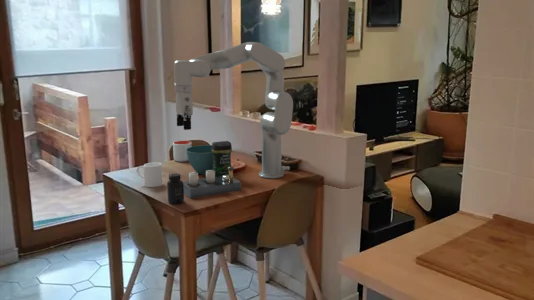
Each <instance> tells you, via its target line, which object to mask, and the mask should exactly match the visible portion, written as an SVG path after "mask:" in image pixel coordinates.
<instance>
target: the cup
mask: <svg viewBox="0 0 534 300" xmlns="http://www.w3.org/2000/svg"><path fill="white" fill-rule="evenodd" d="M189 147H192V141H189V140H177V141H173V142H172V149H173V150H172V154H173V160H174V161H175V162H179V163H183V162H184V163H185V162H189V160H188V157H187V151H186V149H187V148H189Z"/></svg>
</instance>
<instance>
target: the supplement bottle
mask: <svg viewBox="0 0 534 300" xmlns="http://www.w3.org/2000/svg"><path fill="white" fill-rule="evenodd" d="M181 179H182V177H181V173H176V172H175V173H169V175H168V181H167V182H166V189H167V193H166V194H167V203H168V204H170V205H180V204H183V203H184V201H185V194H184V187H183V182H184V181H183V180H181Z"/></svg>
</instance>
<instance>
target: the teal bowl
mask: <svg viewBox="0 0 534 300" xmlns="http://www.w3.org/2000/svg"><path fill="white" fill-rule="evenodd" d="M186 151H187V157H188V160H189V161H188V162H189V164H190V166H191V167H192V168H193V170H194V171H195V172H196V173H198V175H206V171H208V170H212V168H213V153H212V145H211V144H205V145H204V144H203V145H202V144H201V145H199V144H198V145H194V146H193V145H192V146H191V147H189V148H187V149H186Z"/></svg>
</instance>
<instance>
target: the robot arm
mask: <svg viewBox="0 0 534 300" xmlns="http://www.w3.org/2000/svg"><path fill="white" fill-rule="evenodd" d="M251 61H252V62H257V63H256V64H257V66H258V67H259V69H260V70H261V71H262V72H263V73H264V74H265V75H264V76H265V78H266V85H265V87H266V88H265V95H264V96H265V97H264V104H265V106H266V107H267V109H269V110H272V111H274V112H272V111H267V112H265V113H263V114H262V115H261V117H260V120H259V125H260V132H261V170H260V171H259V172H258V176H259V177H260V178H263V179H279V178H282V177H284V176H285V171H290V169H291V167H290V166H289V165H288V166H285V165H282V137H281V136H283V135H286V134H287V133H288V132H289V131H290V129H291V126H292V121H293V110H294V101H293V98H292V97H293V96H291V93H290V94H289V93H288V92H286V91H285V90H284V89H285V76H284V72H283V70H284V68H285V66H286V60H285V57H284V56H283V55H282V54H280V53H279V52H277V51H276V50H274V49H272V48H270V47H268V46H267V45H265V44H263V43H261V42H257V41H256V42H255V41H246V42H243V43H239V44H237V45H235V46H232V47H228V48H225V49H221V50H217V51H214V52H210V53H206V54H202V55H200V56H196V57H193V58H191V59H189V60H185V59H184V60H183V59H179V60H175V61H174V63H173V75H174V76H173V77H174V83H173V84H174V93H175V94H176V95H175V112H176V127H183V130H184V131H187V130H190V131H191V130H192V116H193V113H194V110H193V98H192V93H193V78H194V77H196V78H206V77H207V76H209V75H210V73H211V71H212V70H220V69H221V70H223V69H224V70H225V69H230V68H234V67H236V66H239V65H243V64H245V63H248V62H251Z"/></svg>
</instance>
